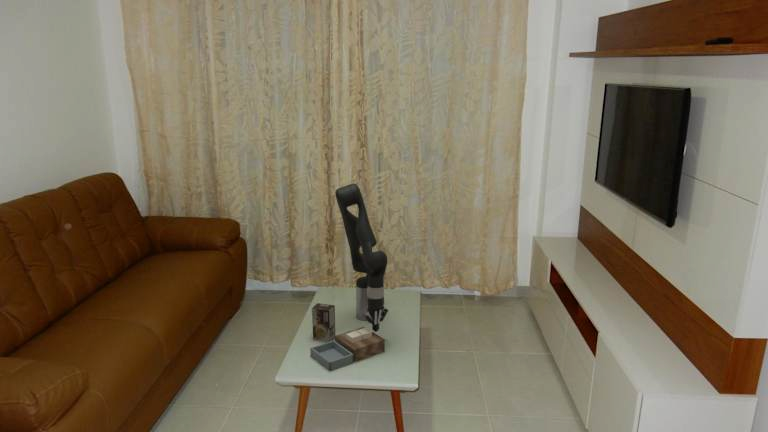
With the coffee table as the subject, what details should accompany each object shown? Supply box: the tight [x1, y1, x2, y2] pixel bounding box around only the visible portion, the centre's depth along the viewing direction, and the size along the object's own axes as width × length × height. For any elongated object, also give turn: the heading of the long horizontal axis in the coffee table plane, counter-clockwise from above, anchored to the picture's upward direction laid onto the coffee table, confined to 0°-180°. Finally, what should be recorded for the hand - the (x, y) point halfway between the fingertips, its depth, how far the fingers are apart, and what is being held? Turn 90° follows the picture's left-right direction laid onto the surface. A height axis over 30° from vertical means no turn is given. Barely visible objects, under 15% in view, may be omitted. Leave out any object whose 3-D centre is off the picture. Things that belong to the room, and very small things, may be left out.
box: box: [309, 339, 355, 372], centre depth 244 cm, size 12×16×4 cm
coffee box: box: [311, 302, 336, 343], centre depth 261 cm, size 9×6×16 cm
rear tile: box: [356, 327, 373, 340], centre depth 252 cm, size 5×5×2 cm
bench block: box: [334, 326, 386, 363], centre depth 252 cm, size 16×16×6 cm
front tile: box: [346, 331, 362, 343], centre depth 249 cm, size 5×5×2 cm
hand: (375, 330), depth 256 cm, fingers closed
